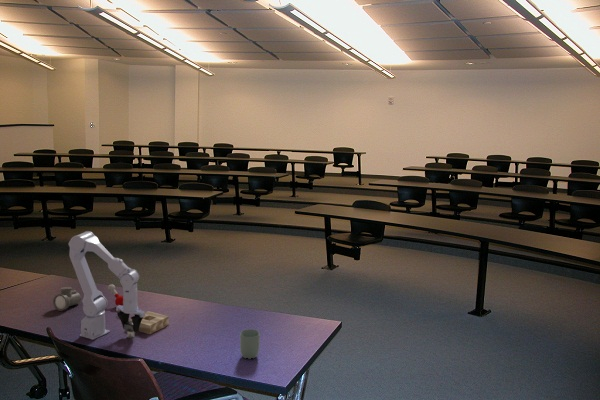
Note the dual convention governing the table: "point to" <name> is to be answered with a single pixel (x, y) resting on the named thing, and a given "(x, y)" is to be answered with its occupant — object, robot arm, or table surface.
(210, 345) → the table surface
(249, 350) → the cup
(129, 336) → the steel pin
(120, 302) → the molecular model
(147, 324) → the wooden block
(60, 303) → the pipe fitting
